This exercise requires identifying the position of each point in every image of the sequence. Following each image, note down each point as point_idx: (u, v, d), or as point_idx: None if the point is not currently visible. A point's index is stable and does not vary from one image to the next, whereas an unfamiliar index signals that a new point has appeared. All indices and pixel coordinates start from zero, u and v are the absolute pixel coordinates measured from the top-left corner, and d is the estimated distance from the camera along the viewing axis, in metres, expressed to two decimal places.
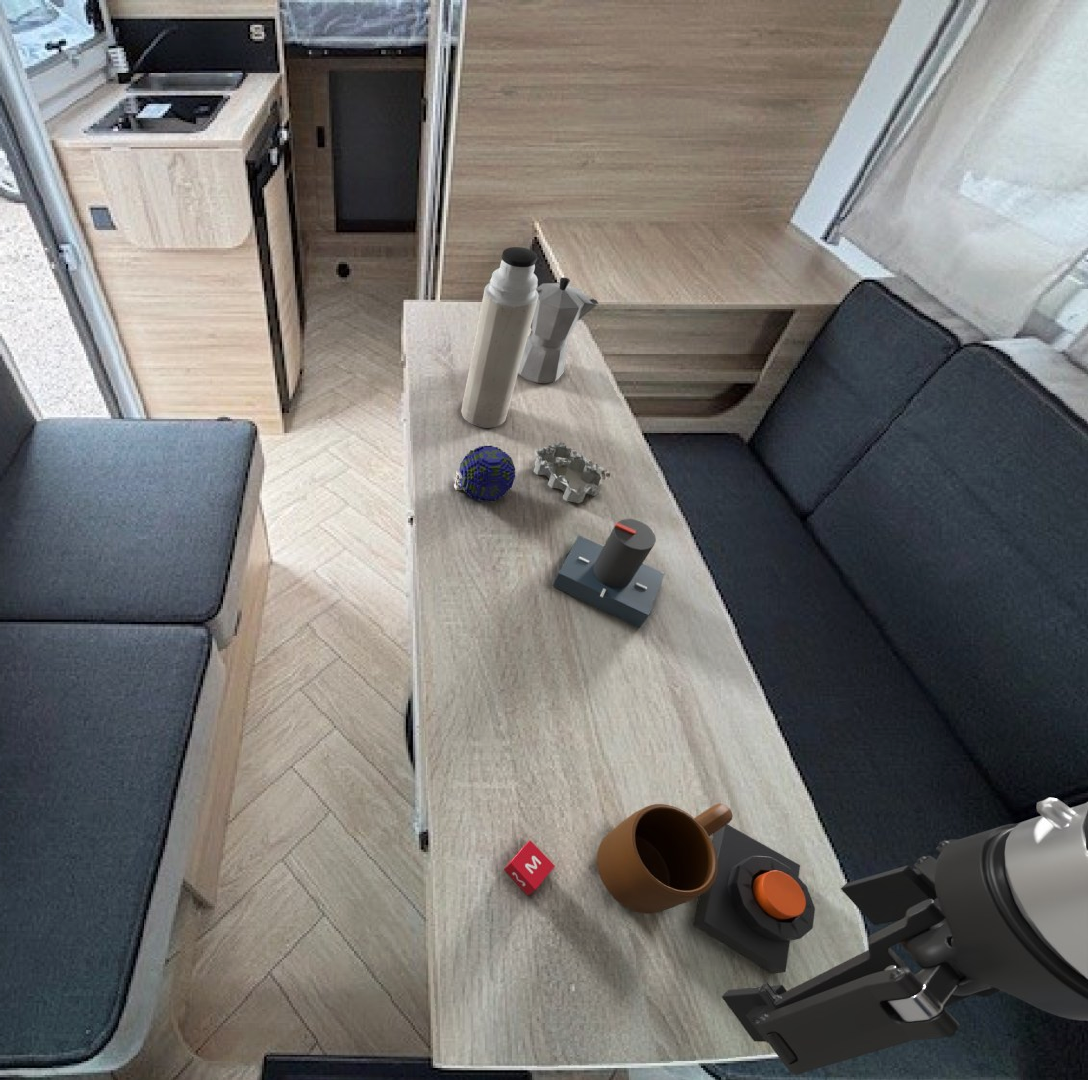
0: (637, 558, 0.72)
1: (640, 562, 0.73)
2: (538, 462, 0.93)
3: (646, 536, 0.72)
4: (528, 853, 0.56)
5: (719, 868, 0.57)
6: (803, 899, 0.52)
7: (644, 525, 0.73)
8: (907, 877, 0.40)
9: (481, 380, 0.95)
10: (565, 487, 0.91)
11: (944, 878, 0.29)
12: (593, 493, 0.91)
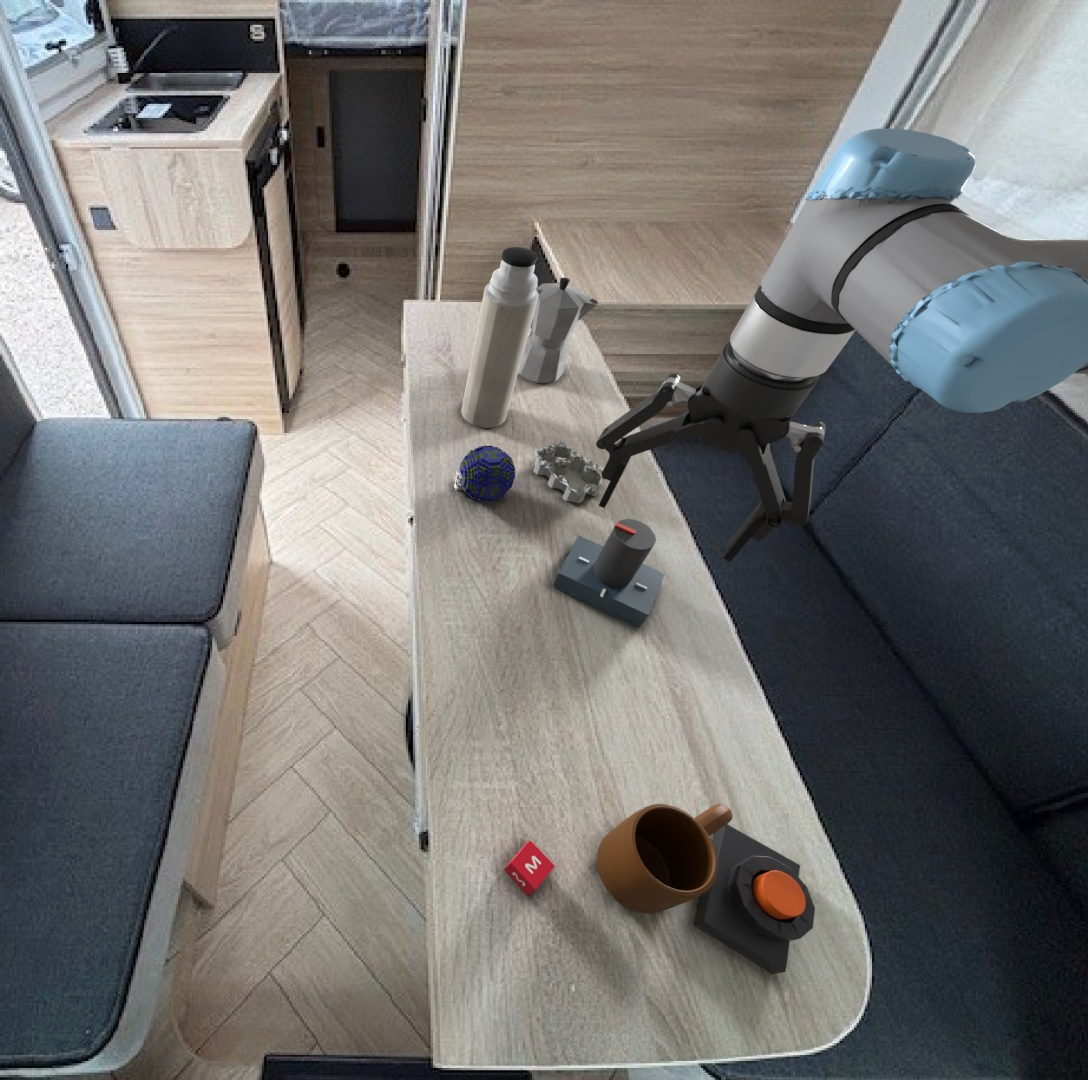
0: (637, 558, 0.72)
1: (640, 562, 0.73)
2: (538, 462, 0.93)
3: (646, 536, 0.72)
4: (528, 853, 0.56)
5: (719, 868, 0.57)
6: (803, 899, 0.52)
7: (644, 525, 0.73)
8: (759, 504, 0.58)
9: (481, 380, 0.95)
10: (565, 487, 0.91)
11: None
12: (593, 493, 0.91)
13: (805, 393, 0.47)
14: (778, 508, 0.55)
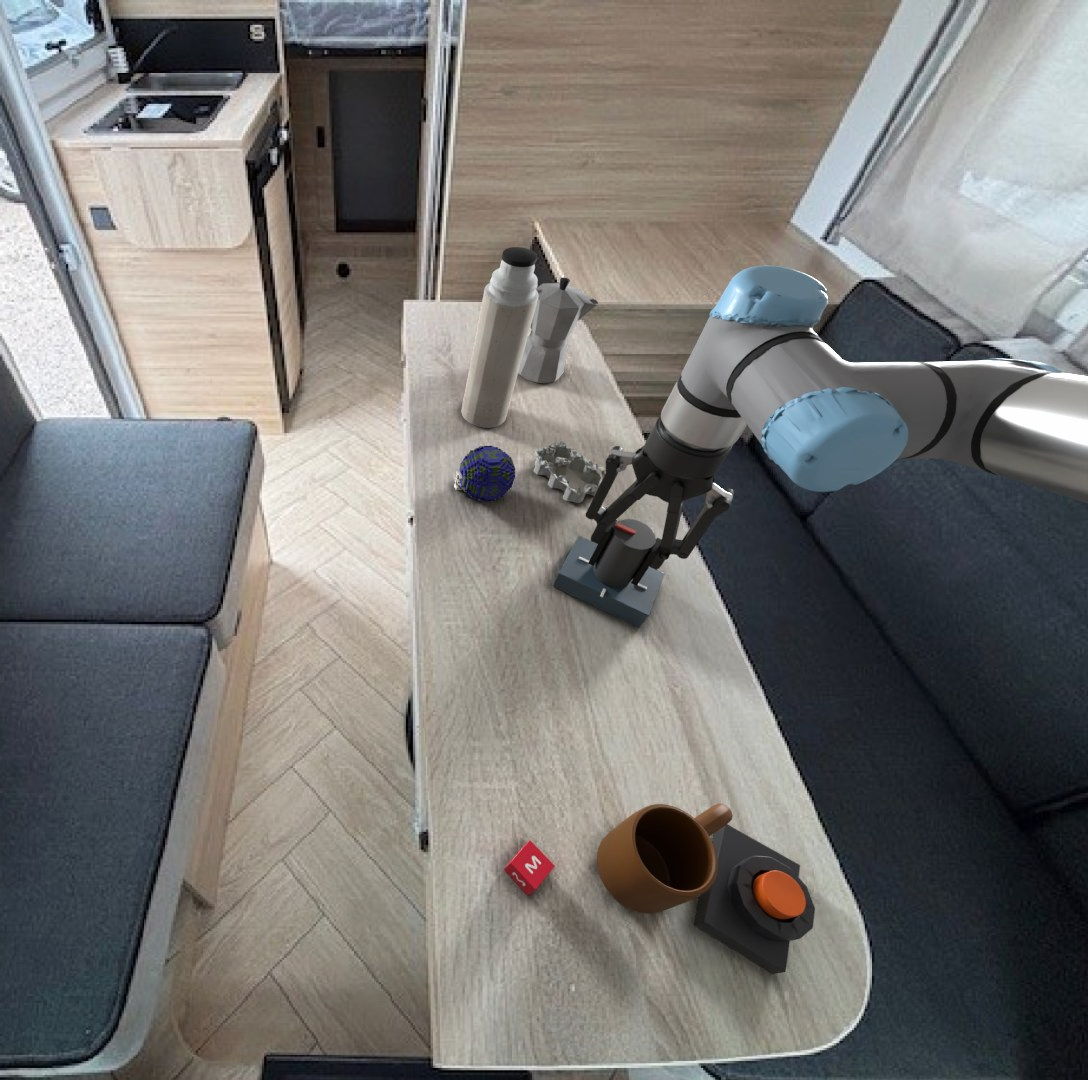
0: (637, 558, 0.72)
1: (640, 562, 0.73)
2: (538, 462, 0.93)
3: (646, 536, 0.72)
4: (528, 853, 0.56)
5: (719, 868, 0.57)
6: (803, 899, 0.52)
7: (644, 525, 0.73)
8: None
9: (481, 380, 0.95)
10: (565, 487, 0.91)
11: None
12: (593, 493, 0.91)
13: (720, 459, 0.58)
14: (670, 546, 0.69)
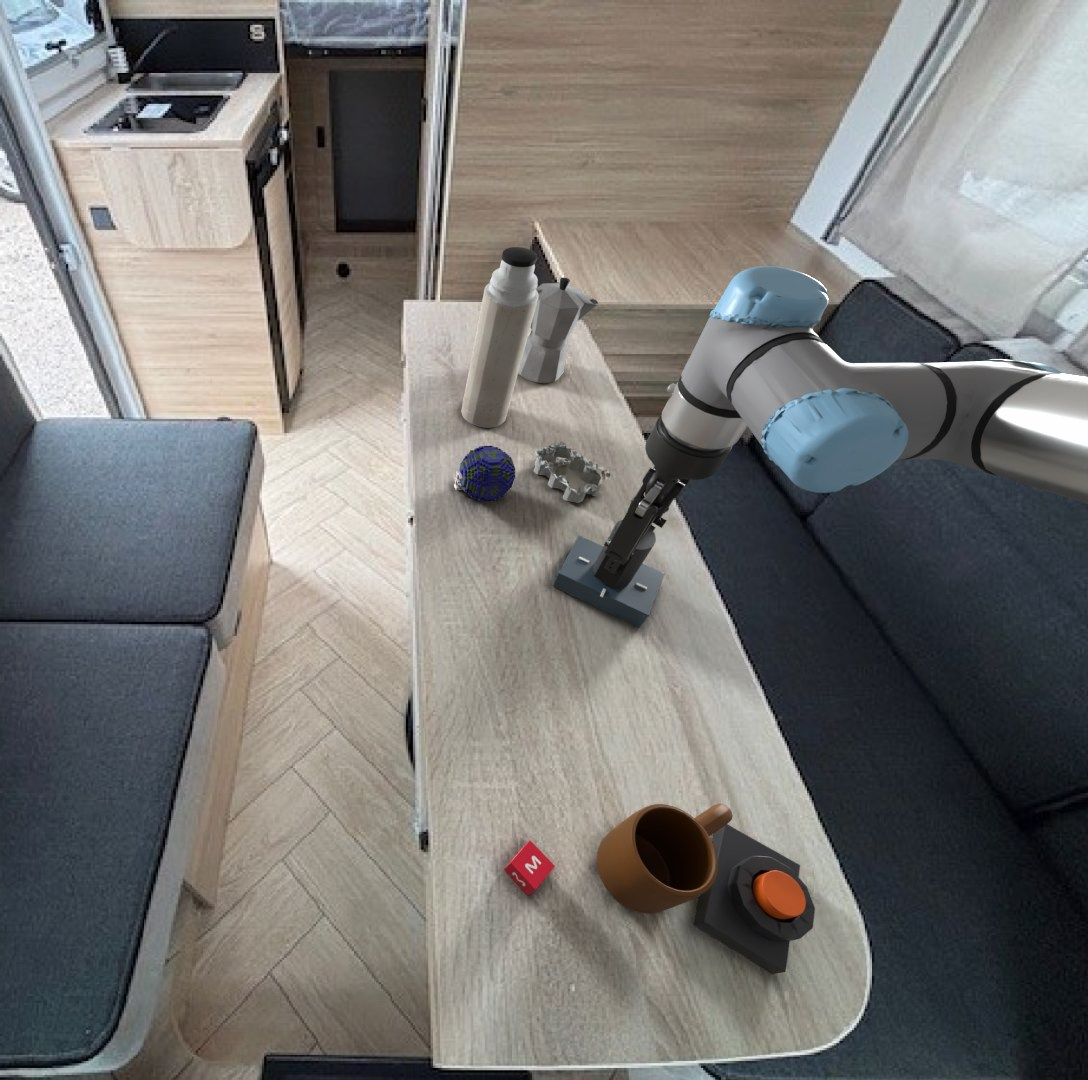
0: None
1: None
2: (538, 462, 0.93)
3: None
4: (528, 853, 0.56)
5: (719, 868, 0.57)
6: (803, 899, 0.52)
7: None
8: None
9: (481, 380, 0.95)
10: (565, 487, 0.91)
11: (647, 445, 0.62)
12: (593, 493, 0.91)
13: None
14: None
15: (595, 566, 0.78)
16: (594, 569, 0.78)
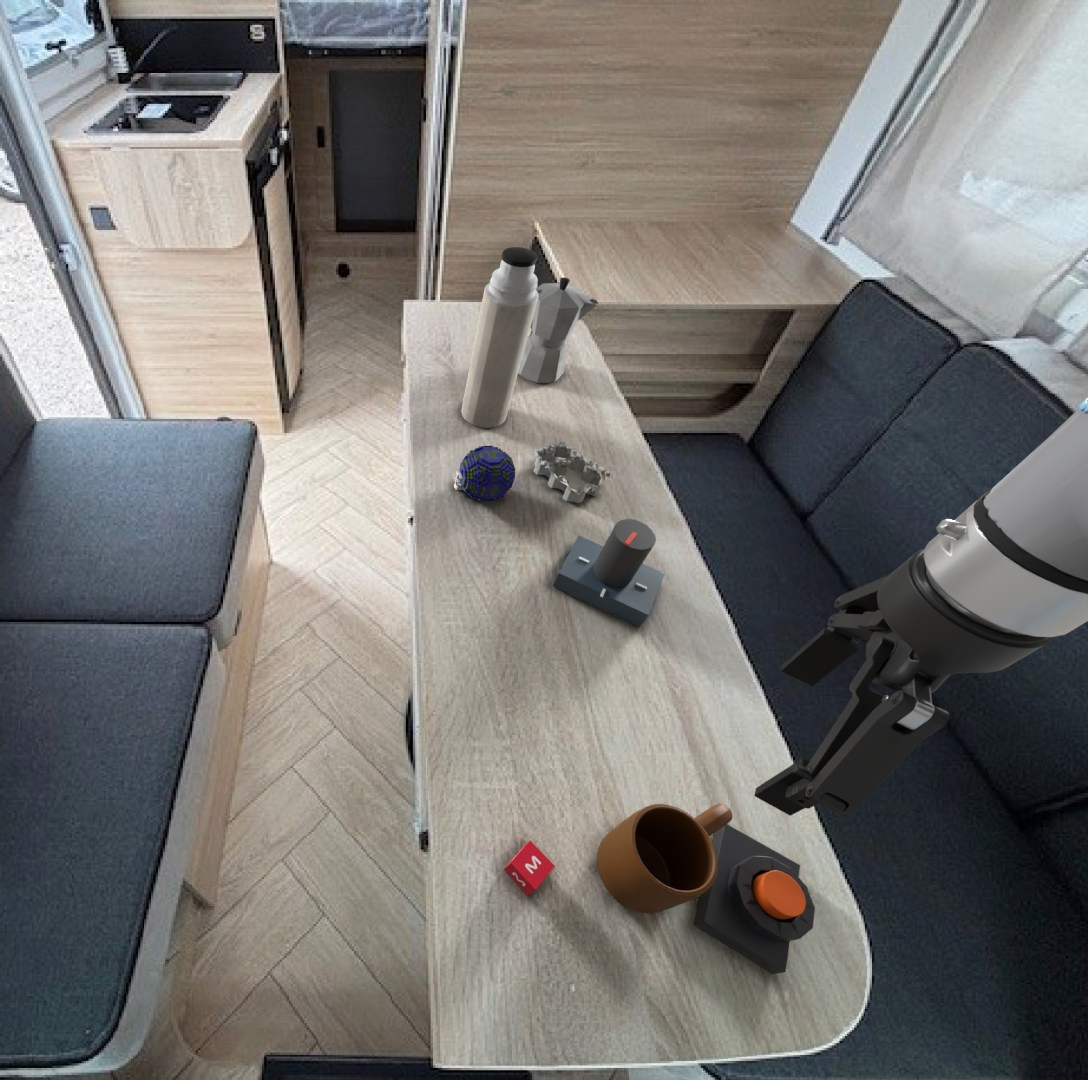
0: None
1: None
2: (538, 462, 0.93)
3: (636, 526, 0.73)
4: (528, 853, 0.56)
5: (719, 868, 0.57)
6: (803, 899, 0.52)
7: (621, 522, 0.73)
8: (828, 636, 0.50)
9: (481, 380, 0.95)
10: (565, 487, 0.91)
11: (892, 613, 0.37)
12: (593, 493, 0.91)
13: None
14: None
15: (595, 566, 0.78)
16: (594, 569, 0.78)
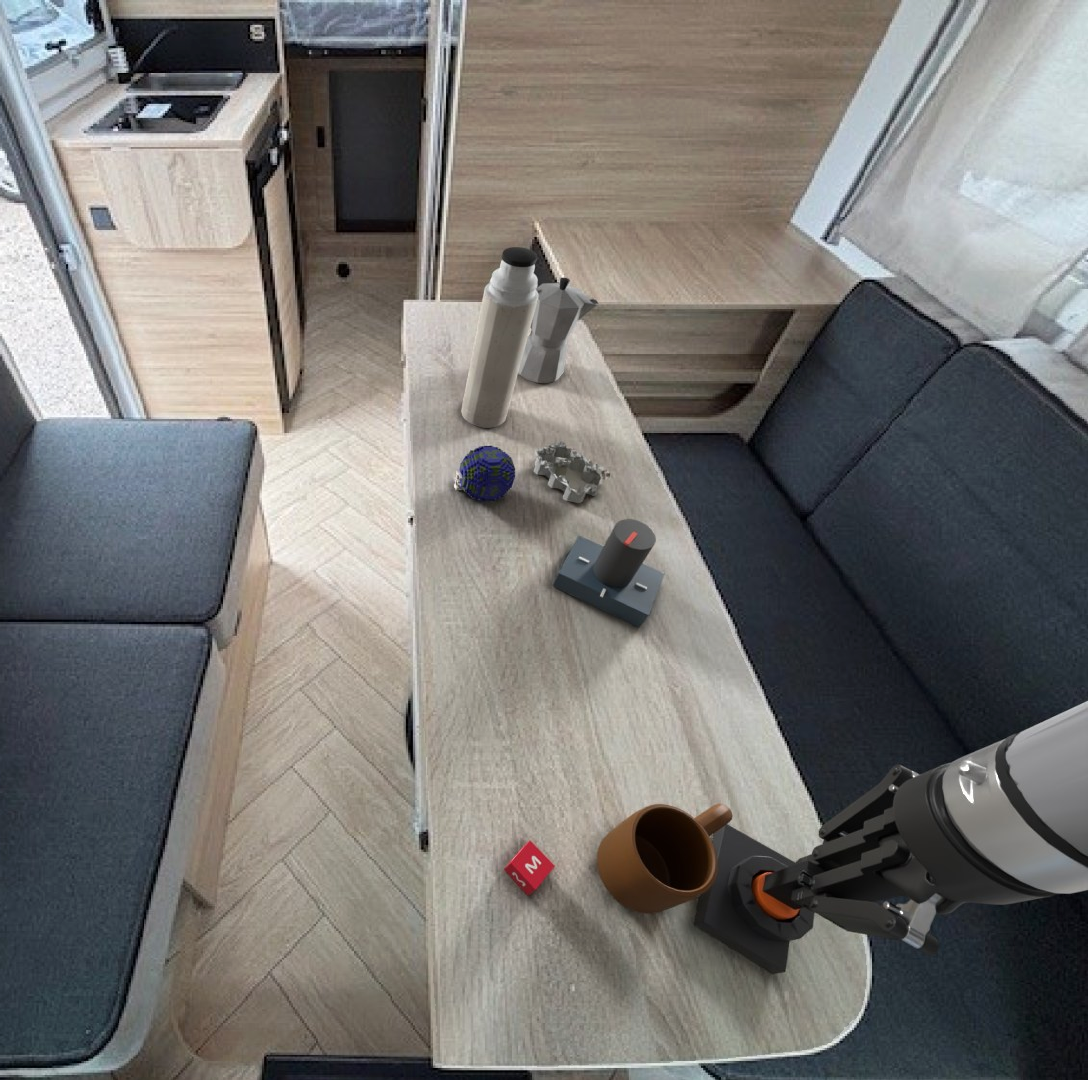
0: None
1: None
2: (538, 462, 0.93)
3: (636, 526, 0.73)
4: (528, 853, 0.56)
5: (719, 868, 0.57)
6: None
7: (621, 522, 0.73)
8: (812, 871, 0.49)
9: (481, 380, 0.95)
10: (565, 487, 0.91)
11: (910, 834, 0.37)
12: (593, 493, 0.91)
13: None
14: None
15: (595, 566, 0.78)
16: (594, 569, 0.78)
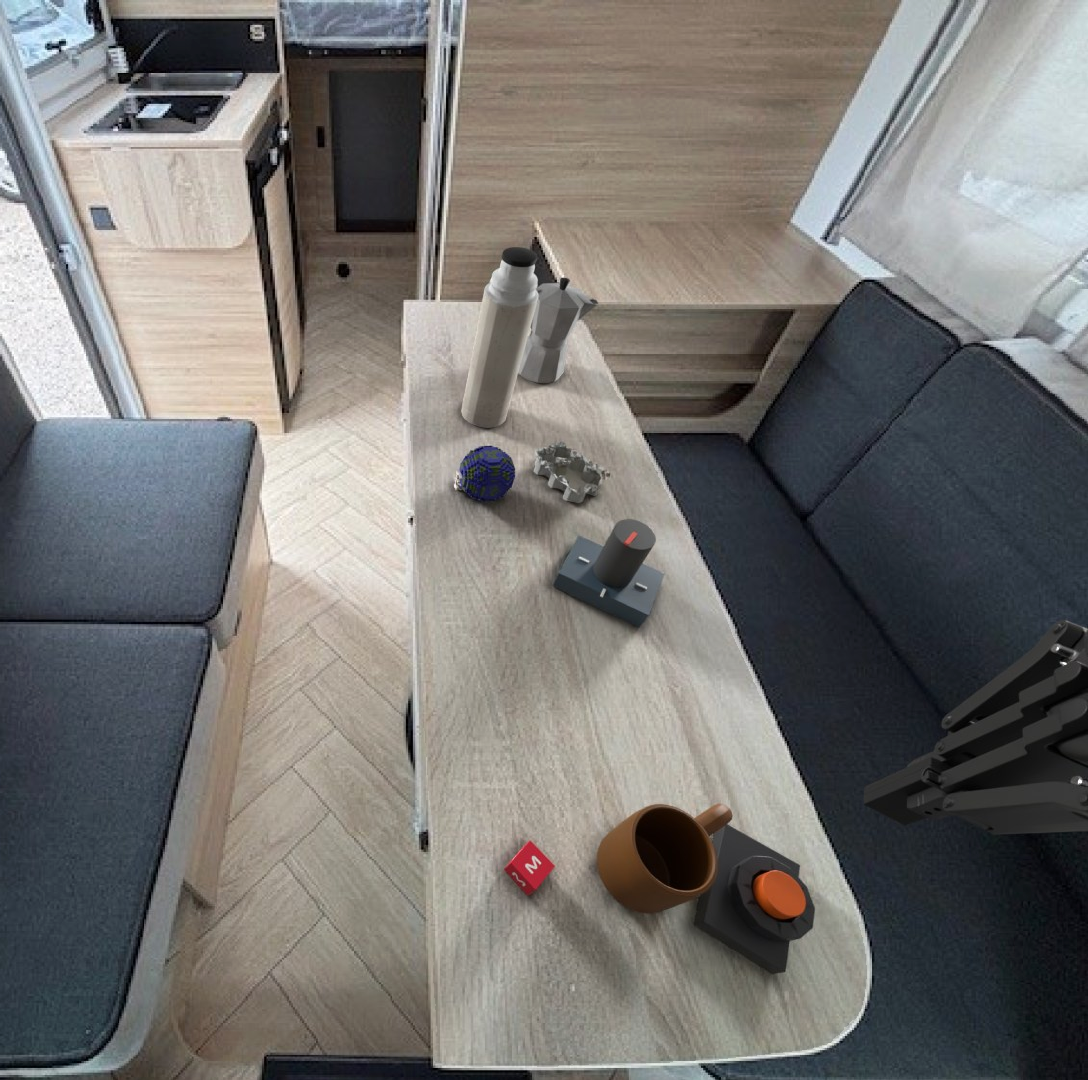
0: None
1: None
2: (538, 462, 0.93)
3: (636, 526, 0.73)
4: (528, 853, 0.56)
5: (719, 868, 0.57)
6: (803, 899, 0.52)
7: (621, 522, 0.73)
8: (937, 769, 0.39)
9: (481, 380, 0.95)
10: (565, 487, 0.91)
11: None
12: (593, 493, 0.91)
13: None
14: None
15: (595, 566, 0.78)
16: (594, 569, 0.78)
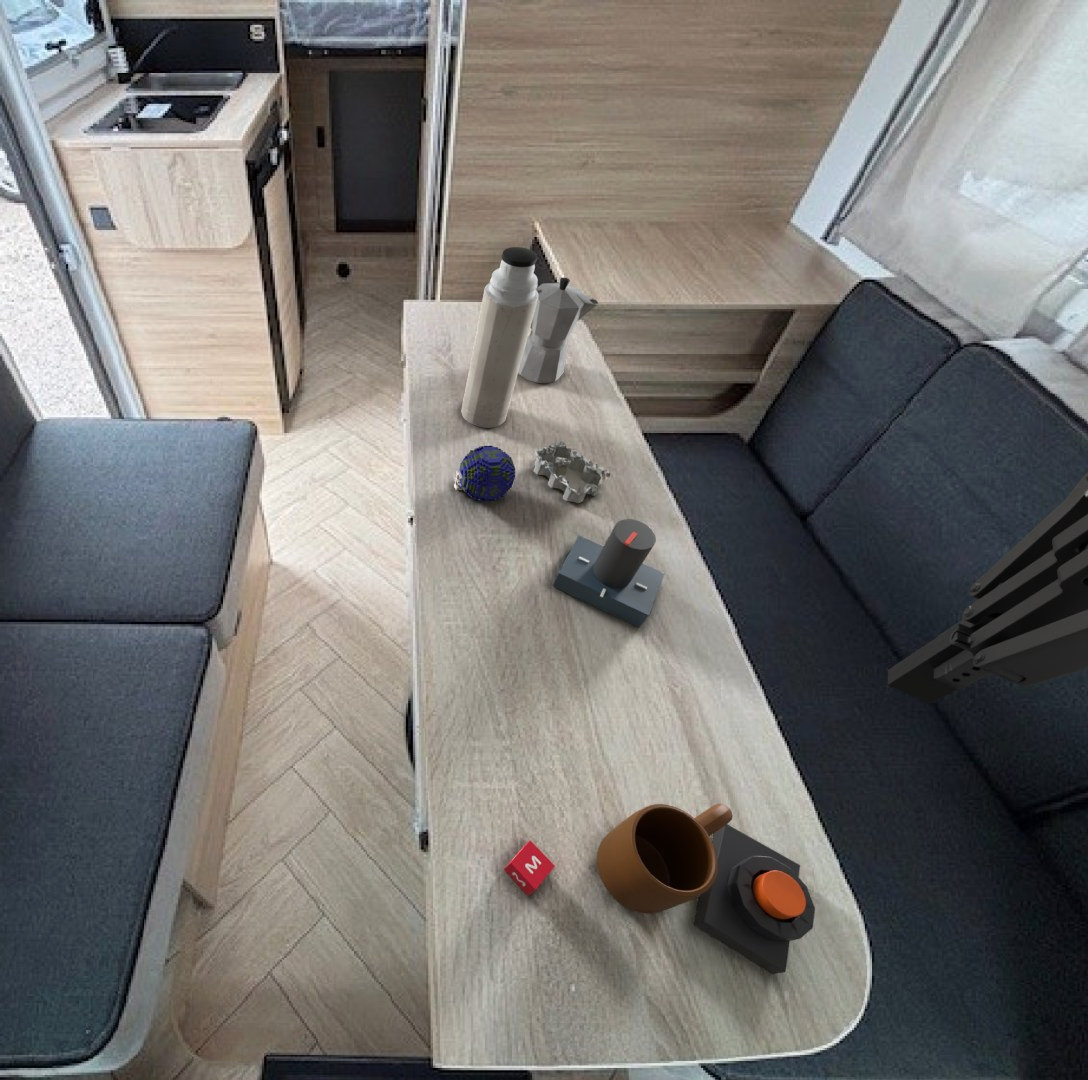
0: None
1: None
2: (538, 462, 0.93)
3: (636, 526, 0.73)
4: (528, 853, 0.56)
5: (719, 868, 0.57)
6: (803, 899, 0.52)
7: (621, 522, 0.73)
8: None
9: (481, 380, 0.95)
10: (565, 487, 0.91)
11: None
12: (593, 493, 0.91)
13: None
14: None
15: (595, 566, 0.78)
16: (594, 569, 0.78)
